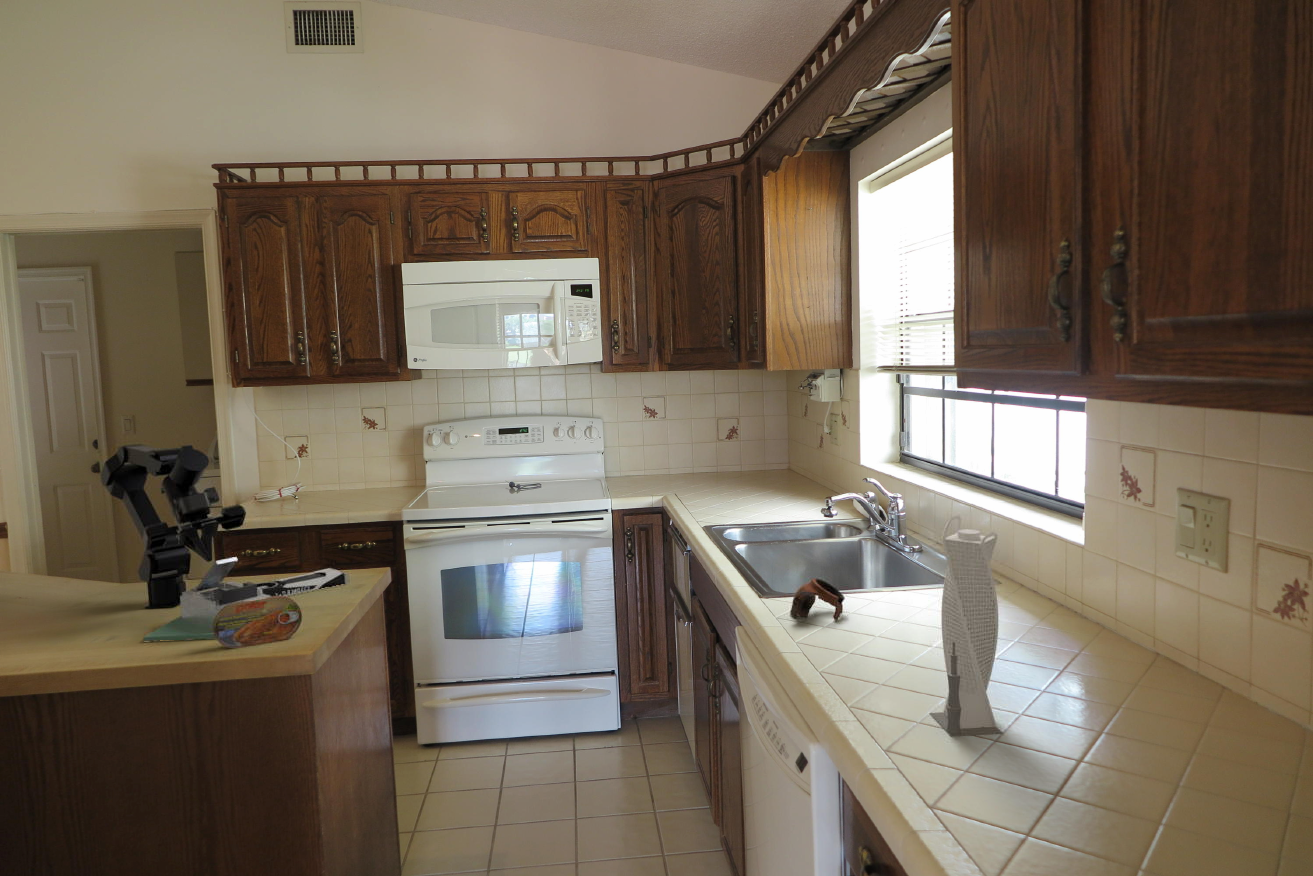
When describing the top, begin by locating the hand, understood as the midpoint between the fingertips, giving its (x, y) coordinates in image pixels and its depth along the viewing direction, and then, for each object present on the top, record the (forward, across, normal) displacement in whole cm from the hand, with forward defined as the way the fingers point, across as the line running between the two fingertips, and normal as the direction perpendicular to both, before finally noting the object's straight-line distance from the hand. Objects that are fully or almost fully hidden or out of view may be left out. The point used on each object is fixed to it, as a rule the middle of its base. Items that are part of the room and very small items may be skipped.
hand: (210, 560), depth 168 cm
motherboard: (+12, -1, +5) cm, 13 cm away
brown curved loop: (+75, +77, -60) cm, 123 cm away
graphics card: (+5, +17, +19) cm, 26 cm away
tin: (+24, 0, -9) cm, 26 cm away
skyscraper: (+99, +53, -94) cm, 146 cm away
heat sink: (+13, -1, +4) cm, 13 cm away
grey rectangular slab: (+4, 0, 0) cm, 4 cm away
